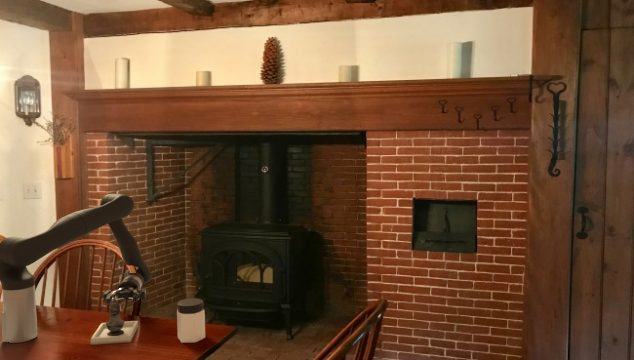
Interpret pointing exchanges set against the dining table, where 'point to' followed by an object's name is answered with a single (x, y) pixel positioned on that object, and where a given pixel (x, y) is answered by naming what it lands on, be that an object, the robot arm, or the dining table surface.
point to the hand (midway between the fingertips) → (121, 300)
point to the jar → (191, 320)
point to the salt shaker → (115, 320)
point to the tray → (103, 338)
